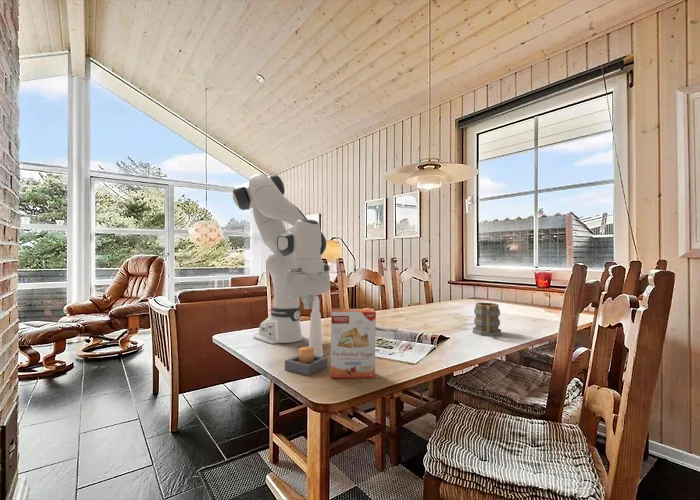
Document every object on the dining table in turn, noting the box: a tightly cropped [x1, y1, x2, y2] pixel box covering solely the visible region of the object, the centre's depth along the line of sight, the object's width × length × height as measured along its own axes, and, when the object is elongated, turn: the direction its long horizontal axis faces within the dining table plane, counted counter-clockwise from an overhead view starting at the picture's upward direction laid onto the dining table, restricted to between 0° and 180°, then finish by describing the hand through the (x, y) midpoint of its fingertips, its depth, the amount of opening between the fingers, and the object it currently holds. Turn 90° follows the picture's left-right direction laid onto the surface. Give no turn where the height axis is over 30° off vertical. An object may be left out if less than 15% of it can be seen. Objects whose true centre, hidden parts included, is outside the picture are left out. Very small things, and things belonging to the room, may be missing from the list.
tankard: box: [472, 302, 502, 337], centre depth 167 cm, size 20×13×15 cm, turn 158°
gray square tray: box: [284, 354, 328, 377], centre depth 119 cm, size 10×10×3 cm
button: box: [298, 346, 314, 363], centre depth 119 cm, size 5×5×4 cm
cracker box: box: [330, 308, 377, 379], centre depth 112 cm, size 14×6×21 cm, turn 93°
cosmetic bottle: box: [308, 295, 324, 357], centre depth 133 cm, size 6×6×22 cm
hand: (308, 308), depth 119 cm, fingers closed
